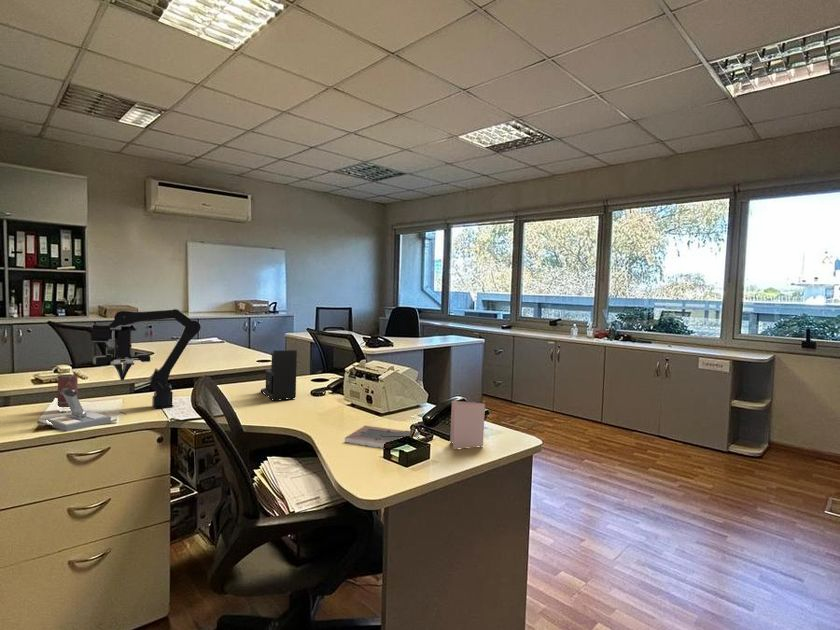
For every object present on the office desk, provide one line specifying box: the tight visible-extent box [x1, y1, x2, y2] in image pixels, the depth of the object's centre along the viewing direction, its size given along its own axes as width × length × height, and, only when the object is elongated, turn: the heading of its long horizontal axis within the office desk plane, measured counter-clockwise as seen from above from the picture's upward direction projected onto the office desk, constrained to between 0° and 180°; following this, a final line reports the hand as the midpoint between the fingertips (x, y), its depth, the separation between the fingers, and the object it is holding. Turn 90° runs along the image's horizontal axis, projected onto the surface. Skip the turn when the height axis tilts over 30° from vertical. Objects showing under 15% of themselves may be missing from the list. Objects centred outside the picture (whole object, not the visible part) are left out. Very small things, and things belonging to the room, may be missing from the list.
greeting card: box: [449, 400, 486, 450], centre depth 154 cm, size 11×7×15 cm, turn 77°
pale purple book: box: [344, 425, 421, 449], centre depth 159 cm, size 16×2×22 cm
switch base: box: [45, 410, 112, 432], centre depth 163 cm, size 14×14×2 cm
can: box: [57, 374, 79, 407], centre depth 178 cm, size 6×6×14 cm
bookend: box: [260, 349, 298, 401], centre depth 220 cm, size 23×11×24 cm, turn 33°
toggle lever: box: [60, 388, 86, 418], centre depth 161 cm, size 2×6×11 cm, turn 63°
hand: (122, 380), depth 183 cm, fingers closed
